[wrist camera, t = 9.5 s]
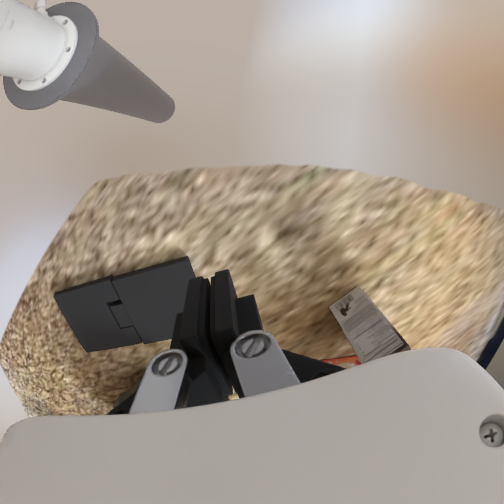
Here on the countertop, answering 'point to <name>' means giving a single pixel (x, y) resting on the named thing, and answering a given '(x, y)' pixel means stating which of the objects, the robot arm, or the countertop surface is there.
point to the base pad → (95, 315)
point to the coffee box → (366, 327)
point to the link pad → (152, 298)
